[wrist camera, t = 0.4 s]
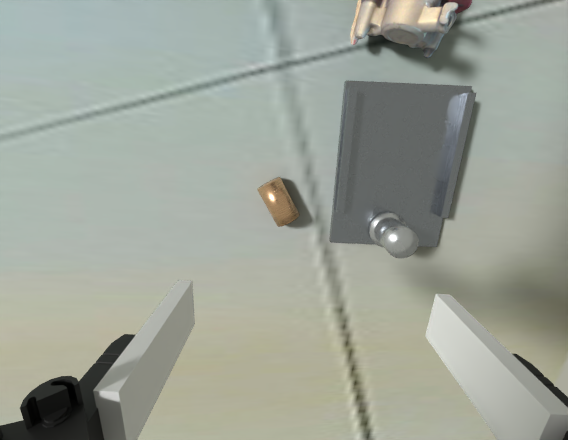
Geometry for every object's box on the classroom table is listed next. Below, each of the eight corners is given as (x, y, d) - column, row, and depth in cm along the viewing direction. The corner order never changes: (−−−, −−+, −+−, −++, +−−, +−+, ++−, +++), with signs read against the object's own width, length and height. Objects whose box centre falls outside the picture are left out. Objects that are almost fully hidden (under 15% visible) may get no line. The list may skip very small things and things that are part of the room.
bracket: (344, 82, 35) (358, 68, 29) (466, 87, 35) (509, 75, 29) (329, 240, 42) (337, 259, 35) (433, 245, 42) (461, 265, 35)
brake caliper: (483, -55, 29) (521, -29, 22) (420, 52, 38) (432, 96, 31) (385, -92, 28) (391, -77, 21) (344, 26, 37) (339, 65, 30)
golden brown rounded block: (258, 186, 40) (255, 191, 36) (280, 175, 39) (279, 178, 36) (277, 221, 41) (276, 229, 38) (299, 211, 40) (300, 217, 37)
